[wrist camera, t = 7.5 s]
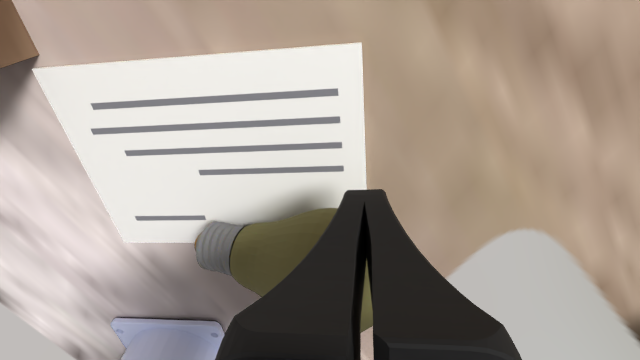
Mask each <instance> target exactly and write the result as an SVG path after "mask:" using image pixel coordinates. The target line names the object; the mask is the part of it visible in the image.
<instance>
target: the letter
mask: <svg viewBox="0 0 640 360" xmlns="http://www.w3.org/2000/svg"><path fill="white" fill-rule="evenodd" d="M32 71H33V73H34V75H35V77H36V78H37V80H38V82H39V84H40V86H41V88H42V90H43V92H44V93H45V95H46V97H47V99H48V101H49V103H50V105H51V107H52V109H53V110H54V112H55V114H56V116H57V118H58V120H59V122H60V124H61V125H62V127H63V129H64V131H65V133H66V135H67V137H68V139H69V140H70V142H71V144H72V146H73V148H74V150H75V152H76V154H77V155H78V157H79V159H80V161H81V163H82V165H83V167H84V169H85V170H86V172H87V174H88V176H89V178H90V180H91V182H92V184H93V185H94V187H95V189H96V191H97V193H98V195H99V197H100V199H101V200H102V202H103V204H104V206H105V208H106V210H107V212H108V214H109V215H110V217H111V219H112V221H113V223H114V225H115V227H116V229H117V231H118V232H119V234H120V236H121V238H122V240H123V242H124V243H195V240H196V238H197V237H198V235H199V234H200V233H201V232H202V231H203V230H204V228H205V227H206V226H207V225H208V224H210V223H211V222H213V221H218V222H224V223H230V224H236V225H243V226H245V225H248V224H254V223H263V222H275V221H280V220H283V219H287V218H290V217H292V216H295V215H298V214H301V213H304V212H307V211H311V210H316V209H322V208H338V207H339V205H340V203H341V201H342V199H343V196H344V193H345V192H346V191H347V190H367V186H366V156H365V126H364V96H363V66H362V42H359V43H346V44H333V45H320V46H308V47H295V48H282V49H269V50H257V51H244V52H231V53H219V54H206V55H193V56H180V57H168V58H155V59H142V60H129V61H117V62H104V63H91V64H79V65H66V66H53V67H40V68H33V69H32Z"/></svg>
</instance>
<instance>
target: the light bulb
mask: <svg viewBox="0 0 640 360" xmlns="http://www.w3.org/2000/svg"><path fill="white" fill-rule="evenodd" d="M337 209H338V208H322V209H316V210H311V211H307V212H304V213H301V214H298V215H295V216H292V217H290V218H287V219H283V220H280V221H275V222H263V223H254V224H248V225H245V226H243V225H236V224H230V223H224V222H218V221H213V222H211V223H210V224H208V225H207V226H206V227H205V228H204V230H203V231H202V232H201V233H200V234H199V235H198V237H197V238H196V240H195V250H196V256H197V261H198V264H199V265H200V266H201V267H202V268H203V269H208V270H211V271H218V272H221V273H224V274H227V275H231V276H232V277H233V278H234V279H235V280H236V281H237V282H238V283H239V284H241V285H242V286H244V287H246V288H248V289H250V290H252V291H254V292H255V293H257V294H258V295H260V296H261V297H263V296H264V295H265V294H267V293H268V292H269V291H270V290H271V289H272V288H274V287H275V286H276V285H277V284H278V283H280V282H281V281H282V280H283V279H284V278H285V277H286V276H287V275H288V274H289V273H290V272H291V271H292V270H293V269H294V268H295V267H296V266H297V265H298V264H299V263H300V262H301V261H302V260H303V259H304V257H305V256H306V255H307V254H308V253H309V252H310V250H311V249H312V248H313V246H314V245H315V244H316V243H317V241H318V240H319V238H320V237H321V235H322V234H323V233H324V231H325V230H326V228H327V227H328V225H329V223H330V222H331V220H332V218H333V216H334V215H335V213H336V211H337ZM372 326H373V310H372V301H371V293H370V284H369V275H368V267H367V259H366V270H365V280H364V290H363V300H362V310H361V329H360V333H361V332H363V331H365V330H366V329H368V328H370V327H372Z"/></svg>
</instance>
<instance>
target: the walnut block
mask: <svg viewBox="0 0 640 360" xmlns="http://www.w3.org/2000/svg"><path fill="white" fill-rule="evenodd" d="M38 55H39V53H38V51H37V49H36V47H35V45H34V43H33V42H32V40H31V38H30V36H29V34H28V32H27V30H26V28H25V26H24V24H23V22H22V20H21V18H20V16H19V14H18V12H17V10H16V8H15V6H14V4H13V2H12V0H0V68H2V67H5V66H8V65H11V64H14V63H17V62H20V61H23V60H26V59H29V58H32V57H35V56H38Z"/></svg>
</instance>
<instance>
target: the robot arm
mask: <svg viewBox="0 0 640 360" xmlns="http://www.w3.org/2000/svg"><path fill="white" fill-rule="evenodd" d="M366 259H367V267H368V275H369V284H370V293H371V301H372V310H373V347H374V360H522V359H521V357H520V354H519V352H518V351H517V349H516V347H515V345H514V343H513V341H512V339H511V337H510V336H509V334H508V332H507V331H506V329H505V327H504V326H503V325H502V324H501V323H500V322H498V321H497V320H495V319H494V318H493V317H491V316H490V315H489V314H487V313H486V312H484V311H483V310H481V309H480V308H479V307H477V306H476V305H474V304H473V303H472V302H471V301H470V300H468V299H467V298H466V297H465V296H463V295H462V294H461V293H460V292H459V291H458V290H457V289H456V288H454V287H453V286H452V285H451V284H450V283H449V282H448V281H447V280H446V279H445V278H444V277H443V276H442V275H441V274H440V273H439V272H438V271H437V270H436V269H435V268H434V267H433V266H432V265H431V264H430V263H429V262H428V260H427V259H426V258H425V257H424V256H423V255H422V254H421V252H420V251H419V250H418V249H417V247H416V246H415V245H414V243H413V242H412V240H411V239H410V238H409V236H408V235H407V233H406V232H405V230H404V229H403V227H402V226H401V224H400V222H399V221H398V219H397V217H396V216H395V214H394V212H393V210H392V208H391V206H390V204H389V201H388V199H387V196H386V193H385V191H383V190H382V189H377V190H347V191H346V192H345V193H344V196H343V199H342V201H341V203H340V205H339V207H338V209H337V211H336V213H335V215H334V216H333V218H332V220H331V222H330V223H329V225H328V227H327V228H326V230H325V231H324V233H323V234H322V235H321V237H320V238H319V240H318V241H317V243H316V244H315V245H314V246H313V248H312V249H311V250H310V252H309V253H308V254H307V255H306V256H305V257H304V259H303V260H302V261H301V262H300V263H299V264H298V265H297V266H296V267H295V268H294V269H293V270H292V271H291V272H290V273H289V274H288V275H287V276H286V277H285V278H284V279H283V280H282V281H281V282H280V283H278V284H277V285H276V286H275V287H274V288H272V289H271V290H270V291H269V292H268V293H267V294H265V295H264V296H263V297H262V298H260V299H259V300H258V301H256V302H255V303H253V304H252V305H250V306H249V307H247V308H246V309H245V310H243V311H242V312H240V313H239V314H237V315H235V316H234V318H233V320H232V322H231V323H230V325H229V327H228V329H227V331H226V333H225V334H224V332H223V329H222V327H221V325H220V324H219V323H218V322H215V321H192V320H163V319H134V318H115V319H113V321H112V322H111V324H110V325H111V327H112V329H113V330H114V332H115V333H116V334H117V336H118V337H119V339H120V340H121V342H122V343H123V345H124V346H125V348H126V351H125V353H124V355H123V356H122V358H121V360H360V329H361V310H362V300H363V290H364V280H365V270H366Z"/></svg>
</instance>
